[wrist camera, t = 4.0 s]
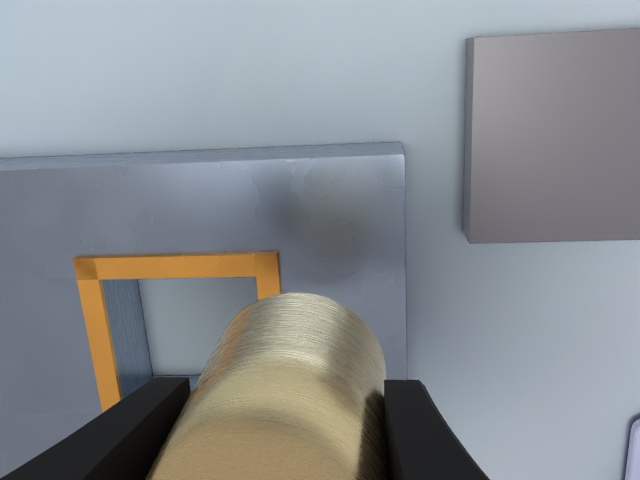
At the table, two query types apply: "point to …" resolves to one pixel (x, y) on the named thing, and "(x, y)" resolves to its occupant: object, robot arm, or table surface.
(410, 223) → the table surface
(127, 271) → the plate
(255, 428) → the brass peg
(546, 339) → the table surface
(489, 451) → the table surface
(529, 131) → the gray square block
